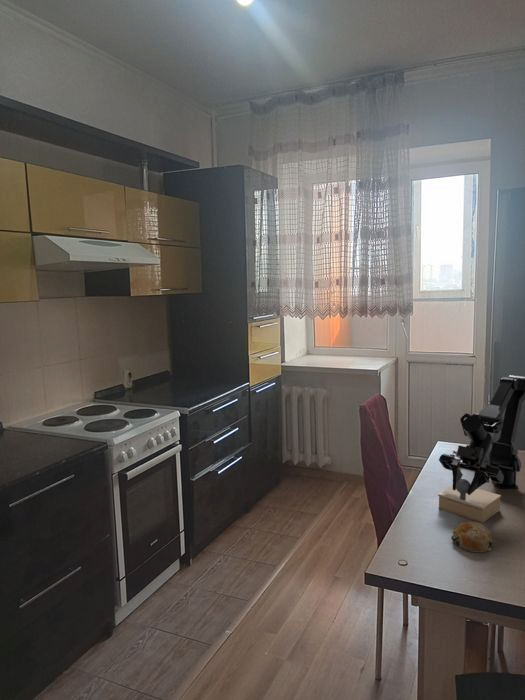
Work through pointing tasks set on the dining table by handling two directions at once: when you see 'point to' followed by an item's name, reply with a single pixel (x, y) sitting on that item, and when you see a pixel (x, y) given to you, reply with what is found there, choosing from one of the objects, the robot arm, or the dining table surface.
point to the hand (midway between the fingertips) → (460, 492)
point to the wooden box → (469, 509)
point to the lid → (475, 499)
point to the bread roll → (473, 537)
